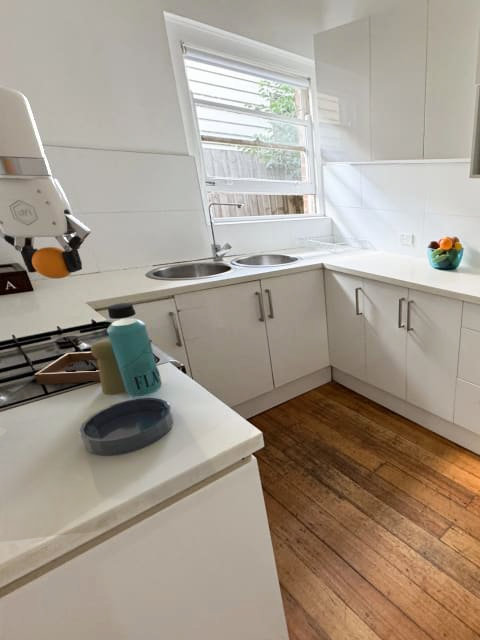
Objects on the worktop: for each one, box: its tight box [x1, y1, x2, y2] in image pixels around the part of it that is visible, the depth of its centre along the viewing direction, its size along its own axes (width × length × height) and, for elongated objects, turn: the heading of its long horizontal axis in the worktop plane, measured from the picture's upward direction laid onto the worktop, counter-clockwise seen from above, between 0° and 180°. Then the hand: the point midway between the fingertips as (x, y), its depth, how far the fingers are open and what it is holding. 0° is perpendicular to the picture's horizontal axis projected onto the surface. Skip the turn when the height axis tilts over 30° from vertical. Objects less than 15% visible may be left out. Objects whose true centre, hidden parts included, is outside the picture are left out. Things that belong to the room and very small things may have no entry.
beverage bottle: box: [106, 302, 162, 397], centre depth 76 cm, size 6×7×20 cm
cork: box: [90, 338, 127, 396], centre depth 81 cm, size 6×6×11 cm
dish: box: [78, 397, 175, 457], centre depth 69 cm, size 13×13×3 cm
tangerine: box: [32, 246, 73, 279], centre depth 73 cm, size 6×6×6 cm
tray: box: [33, 351, 101, 385], centre depth 89 cm, size 13×11×2 cm
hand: (56, 270), depth 74 cm, fingers closed on tangerine, 6 cm apart
